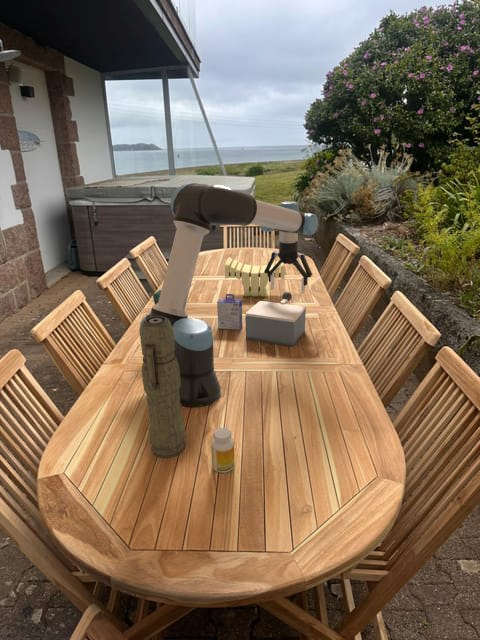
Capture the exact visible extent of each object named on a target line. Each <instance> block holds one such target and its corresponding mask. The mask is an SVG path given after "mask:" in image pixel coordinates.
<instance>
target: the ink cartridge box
mask: <svg viewBox="0 0 480 640" xmlns="http://www.w3.org/2000/svg"><path fill="white" fill-rule="evenodd" d="M216 308H217V329H222V330H224V329H225V330H235V331H236V330H237V331H239V330H241V329H242V328H243V299H241V298H237V299H236V298H235V294H233V293H226V294H225V298H219V299H218V301H216Z"/></svg>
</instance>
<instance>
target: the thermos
mask: <svg viewBox="0 0 480 640" xmlns="http://www.w3.org/2000/svg"><path fill="white" fill-rule="evenodd" d="M139 338H140V345H141V346H140V347H141V354H142V355H143V356H142V362H143V363H142V366H141V376H142V377H141V378H142V386H143V391H144V393H145V394H146V401H147V410H148V417H149V426H148V437H149V439H148V440H149V444H150V445H151V446H150V447H151V452H152V454H153V455H155V456H156V457H157V458H161V459H168V458H169V459H170V458H174V457H177V456H179V455H181V454H182V453H183V451H185V448H186V440H185V439H186V430H185V428H186V427H185V422H184V419H183V418H182V417H183V416H182V405H180V394H179V389H180V386H181V382H180V370H179V364H178V362H177V360H176V355H175V352H174V351H175V342H174V331H173V328H172V325H171V323H170V321H169V319H167V318H165V317H161V316H155V317H150V318H148V319H146V320H144V321H143V322H142V326H141V331H140V334H139Z"/></svg>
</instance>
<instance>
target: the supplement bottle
mask: <svg viewBox="0 0 480 640" xmlns="http://www.w3.org/2000/svg"><path fill="white" fill-rule="evenodd" d="M210 443H211V445H210V447H211V448H210V449H211V466H212V469H213V470H214V471H216V472H217V473H223V474H224V473H225V474H226V473H230V472H231V471H232V470H233V469H234V467H235V441H234V438H233V437H232V431H231V430H230V429H229V428H227V427H220V428H217V429H215V430H214V432H213V438H212V440H211V442H210Z"/></svg>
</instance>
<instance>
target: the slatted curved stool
mask: <svg viewBox="0 0 480 640" xmlns="http://www.w3.org/2000/svg"><path fill="white" fill-rule="evenodd" d="M278 261H279V260H277V261H276V262H273V264H272V266H271V268H270V269H269V270H271V269H272V268H273V267H274V266H275V265H276V264H277V263H278ZM224 264H225V265H224V278H225V279H229V278H231V279H232V278H233V279H234V278H236V279H237V280H238V281H240V280H241V285H242V287H243V293H242V297H259V296H260V297H261V298H262V297H265V298H266V297H269V291H270V290H269V288H268V286H267V285H268V282H269V275H268V274H267V273H264V271H265V269H266V267H267V265H268V264H263V265H253V266H252V265H251V264H246V263H243V262H240V261H238V260H236V259H234V260H233V258H232V257H230V256H228V258H227V260H226V261H225V263H224ZM285 267H286V264H284V263H281V264H280V265H279V266H278V268H277V269H276V270H275V271H274V272H273V273H272V274H274V279H281V280H285V274H286V273H285Z"/></svg>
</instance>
